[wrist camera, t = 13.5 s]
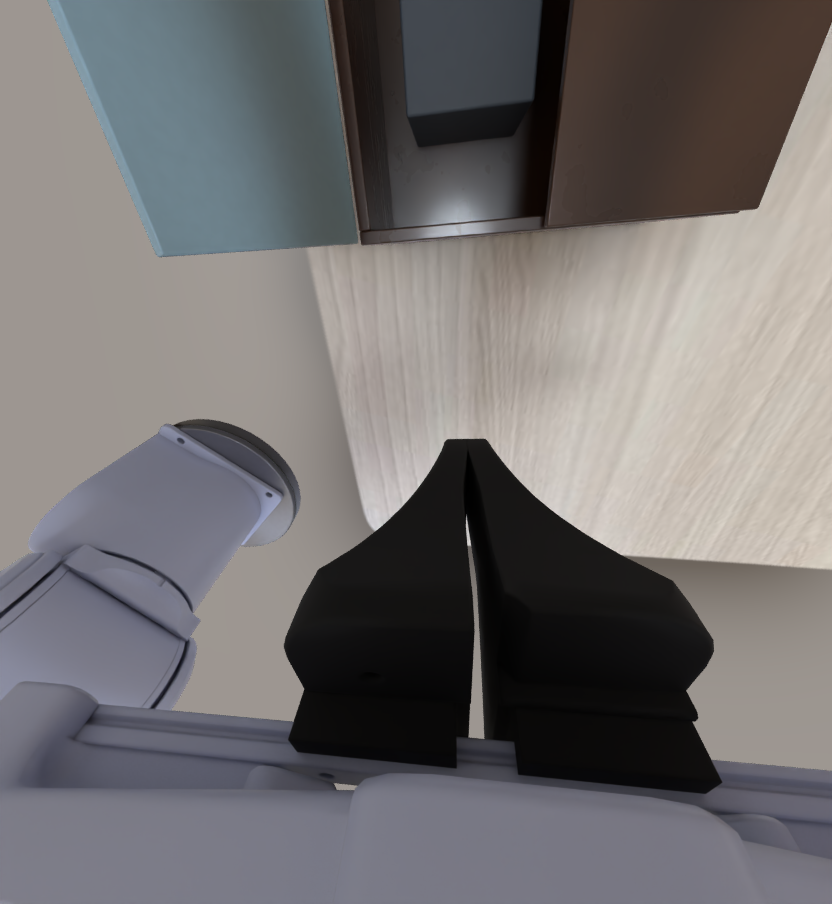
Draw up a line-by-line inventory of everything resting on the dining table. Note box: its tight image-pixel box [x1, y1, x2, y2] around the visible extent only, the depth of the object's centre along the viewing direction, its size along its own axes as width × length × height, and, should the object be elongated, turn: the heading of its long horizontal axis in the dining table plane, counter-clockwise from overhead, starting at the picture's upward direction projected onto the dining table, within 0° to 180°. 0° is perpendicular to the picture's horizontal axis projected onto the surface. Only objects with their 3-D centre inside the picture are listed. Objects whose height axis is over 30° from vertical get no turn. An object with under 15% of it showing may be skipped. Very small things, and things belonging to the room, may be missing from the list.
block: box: [399, 0, 543, 147], centre depth 11 cm, size 4×4×4 cm
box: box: [328, 0, 832, 245], centre depth 10 cm, size 12×11×7 cm
